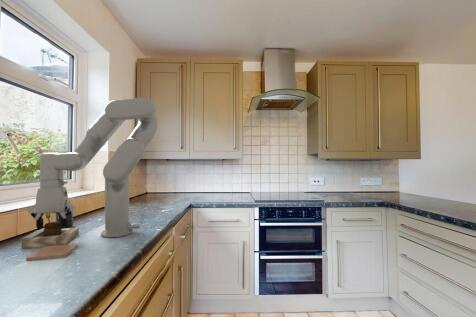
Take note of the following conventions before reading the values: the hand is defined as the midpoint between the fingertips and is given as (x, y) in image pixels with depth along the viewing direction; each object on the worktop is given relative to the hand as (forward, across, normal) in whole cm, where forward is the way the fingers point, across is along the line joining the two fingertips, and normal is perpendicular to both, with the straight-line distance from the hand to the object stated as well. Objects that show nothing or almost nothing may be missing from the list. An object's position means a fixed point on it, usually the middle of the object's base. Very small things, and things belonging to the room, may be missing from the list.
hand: (52, 228), depth 103 cm
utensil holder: (+5, 0, 0) cm, 5 cm away
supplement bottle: (+5, +4, -22) cm, 23 cm away
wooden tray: (+5, 0, 0) cm, 5 cm away
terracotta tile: (+5, -7, +16) cm, 18 cm away
